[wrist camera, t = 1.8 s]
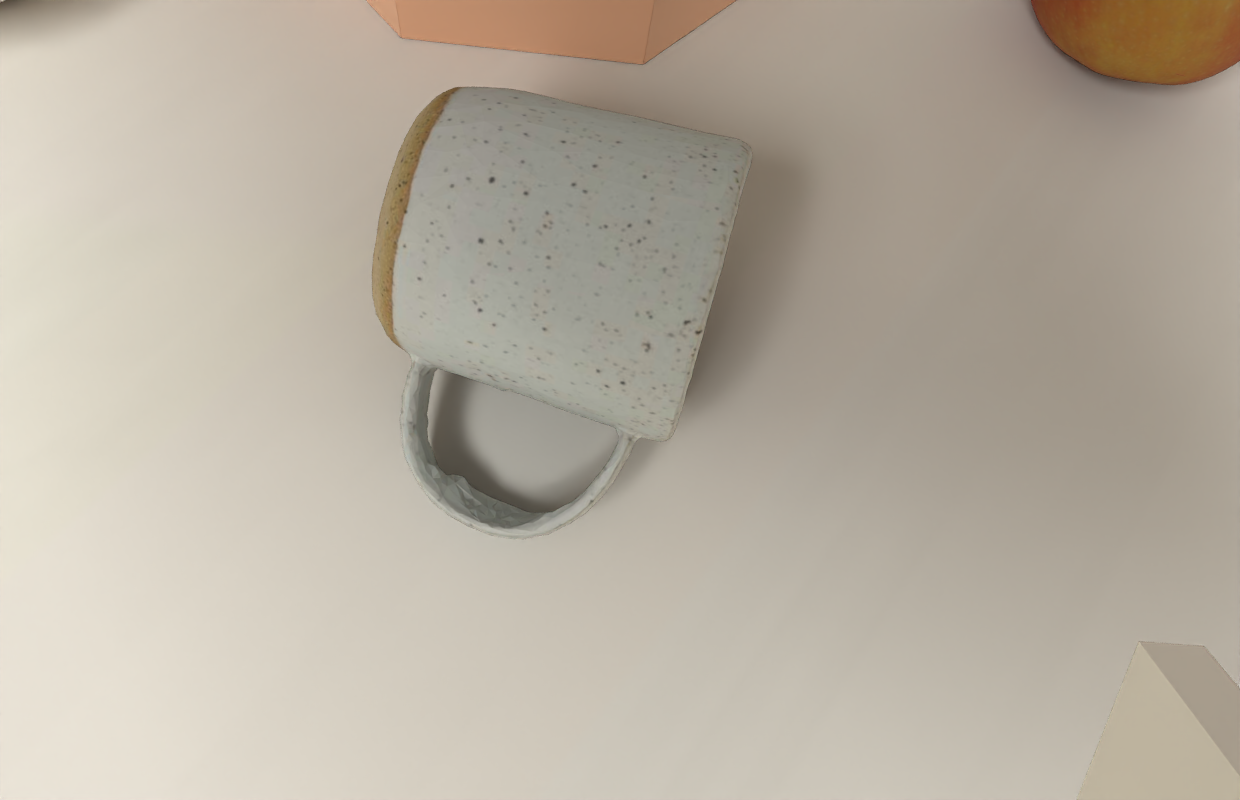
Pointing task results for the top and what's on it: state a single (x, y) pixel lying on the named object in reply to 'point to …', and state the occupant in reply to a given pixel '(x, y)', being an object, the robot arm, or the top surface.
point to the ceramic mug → (551, 270)
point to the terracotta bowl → (553, 24)
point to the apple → (1146, 36)
